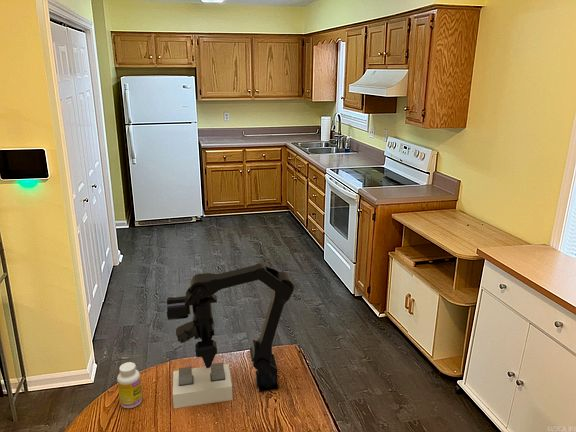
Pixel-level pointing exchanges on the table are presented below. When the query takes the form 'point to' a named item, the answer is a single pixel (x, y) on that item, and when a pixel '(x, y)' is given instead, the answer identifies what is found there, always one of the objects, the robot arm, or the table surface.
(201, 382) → the bore block
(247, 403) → the table surface
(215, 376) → the peg
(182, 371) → the peg
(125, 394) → the supplement bottle
